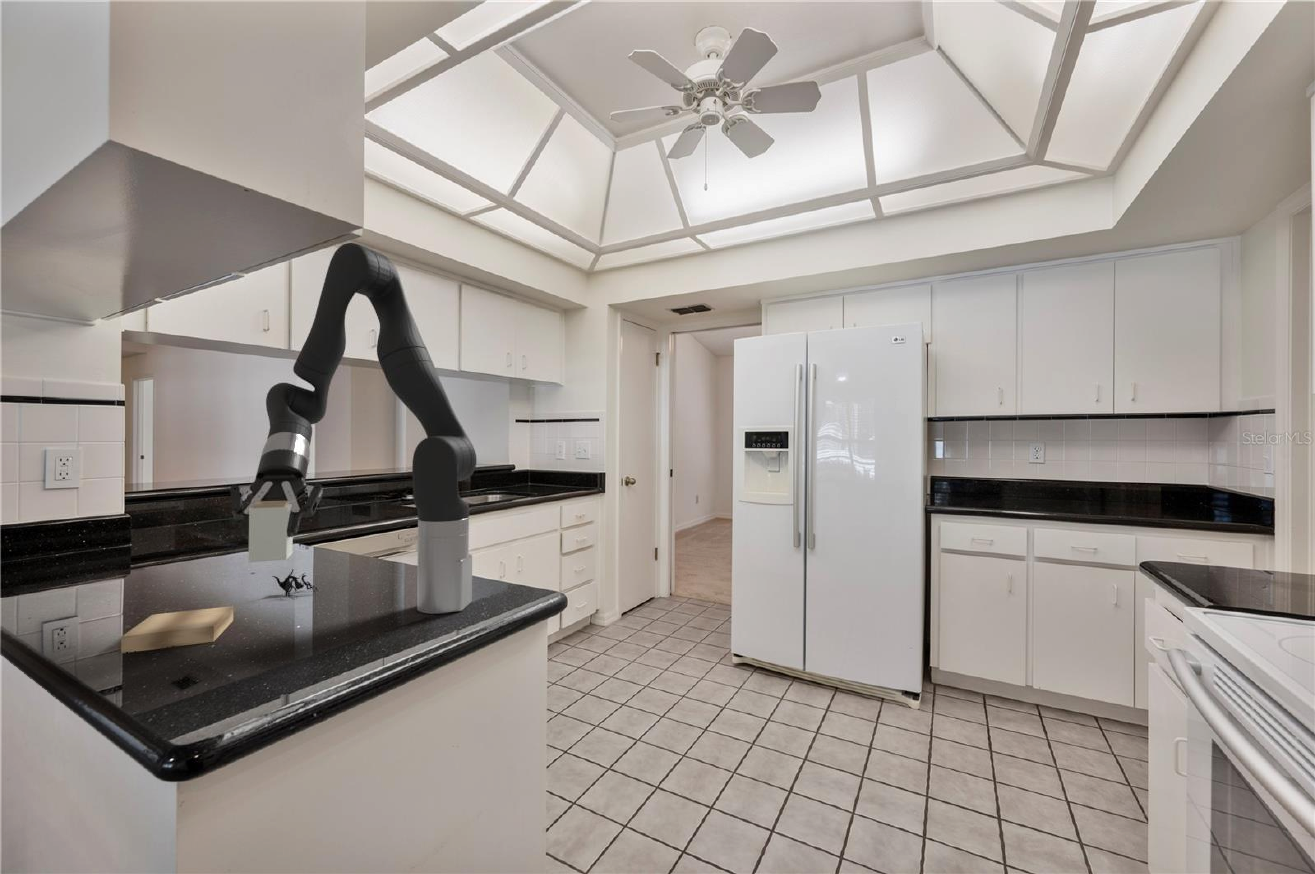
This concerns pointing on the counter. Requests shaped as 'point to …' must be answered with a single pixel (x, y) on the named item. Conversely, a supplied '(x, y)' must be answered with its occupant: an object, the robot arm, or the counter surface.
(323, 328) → the robot arm
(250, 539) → the pale green upright block
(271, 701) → the counter surface
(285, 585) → the creature
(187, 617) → the base slab
